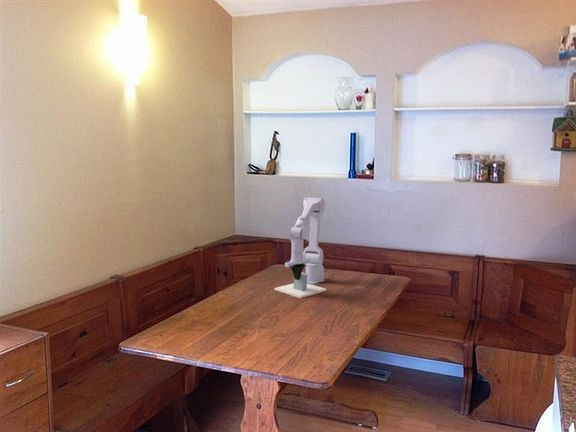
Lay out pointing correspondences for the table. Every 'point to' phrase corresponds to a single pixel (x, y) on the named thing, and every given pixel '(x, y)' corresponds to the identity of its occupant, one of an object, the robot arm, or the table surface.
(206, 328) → the table surface
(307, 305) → the table surface
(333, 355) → the table surface
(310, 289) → the tile
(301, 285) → the block
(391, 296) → the table surface
